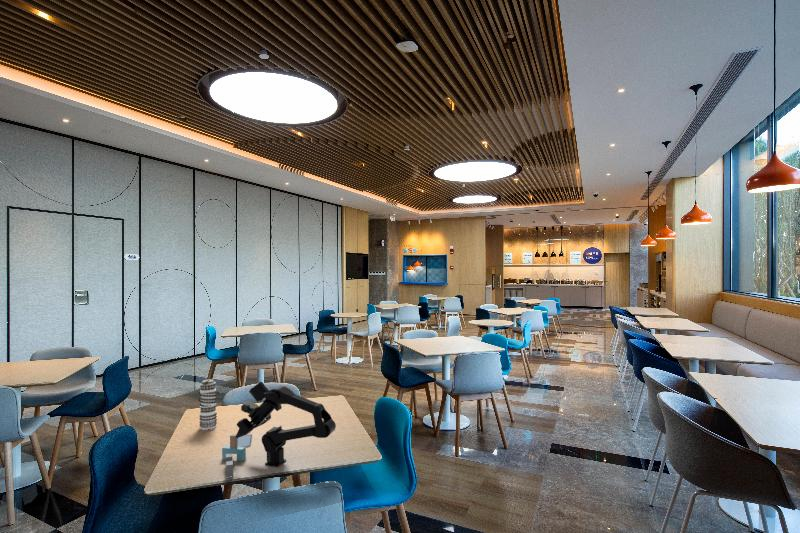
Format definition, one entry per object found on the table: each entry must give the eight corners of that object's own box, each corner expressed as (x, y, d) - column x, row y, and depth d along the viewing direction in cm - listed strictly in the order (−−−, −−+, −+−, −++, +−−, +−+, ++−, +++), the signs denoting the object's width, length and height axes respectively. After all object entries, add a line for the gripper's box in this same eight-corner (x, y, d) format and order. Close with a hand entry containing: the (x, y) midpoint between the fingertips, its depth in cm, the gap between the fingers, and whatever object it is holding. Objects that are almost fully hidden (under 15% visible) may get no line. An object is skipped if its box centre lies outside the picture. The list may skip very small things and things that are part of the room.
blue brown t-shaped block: (245, 458, 186) (245, 434, 186) (242, 461, 184) (242, 436, 184) (225, 456, 188) (225, 433, 189) (222, 459, 186) (222, 435, 186)
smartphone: (233, 448, 197) (236, 435, 212) (233, 450, 197) (237, 437, 212) (250, 446, 199) (252, 434, 214) (250, 448, 199) (252, 436, 214)
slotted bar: (225, 466, 179) (225, 454, 179) (232, 464, 180) (232, 453, 180) (226, 478, 168) (226, 465, 168) (233, 476, 169) (233, 464, 169)
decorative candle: (201, 431, 221) (201, 383, 221) (196, 427, 228) (196, 380, 228) (219, 427, 227) (219, 380, 227) (214, 422, 234) (213, 377, 234)
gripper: (264, 389, 194) (243, 412, 196) (240, 401, 175) (217, 426, 178) (280, 408, 192) (259, 431, 194) (257, 422, 173) (234, 447, 176)
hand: (242, 433), depth 185 cm, fingers open, 9 cm apart
